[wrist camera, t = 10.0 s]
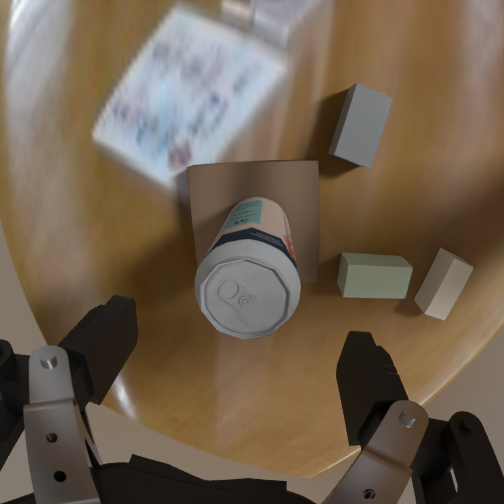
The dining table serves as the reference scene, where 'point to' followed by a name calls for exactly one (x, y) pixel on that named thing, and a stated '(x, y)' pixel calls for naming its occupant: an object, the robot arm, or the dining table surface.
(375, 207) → the dining table surface
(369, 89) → the slate brick
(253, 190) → the walnut slab
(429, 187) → the dining table surface
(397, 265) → the sage brick
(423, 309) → the cream brick
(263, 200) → the beer can
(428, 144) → the dining table surface
